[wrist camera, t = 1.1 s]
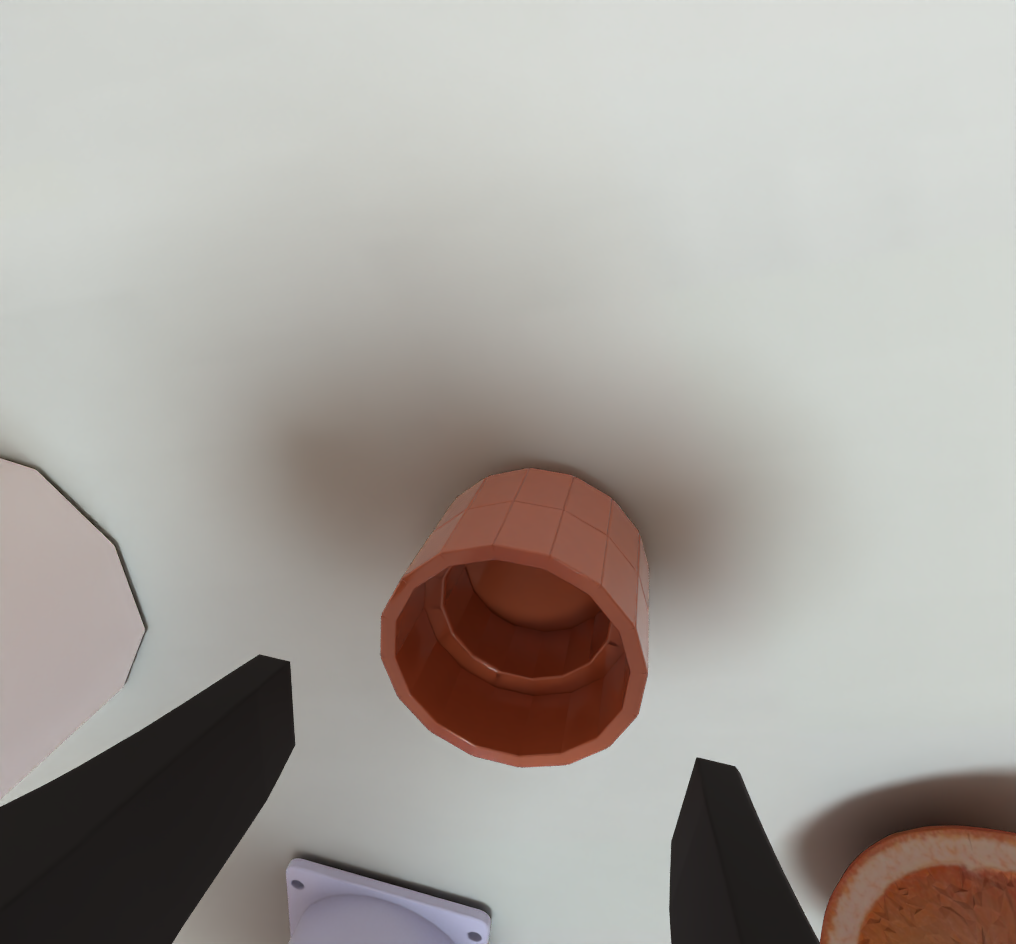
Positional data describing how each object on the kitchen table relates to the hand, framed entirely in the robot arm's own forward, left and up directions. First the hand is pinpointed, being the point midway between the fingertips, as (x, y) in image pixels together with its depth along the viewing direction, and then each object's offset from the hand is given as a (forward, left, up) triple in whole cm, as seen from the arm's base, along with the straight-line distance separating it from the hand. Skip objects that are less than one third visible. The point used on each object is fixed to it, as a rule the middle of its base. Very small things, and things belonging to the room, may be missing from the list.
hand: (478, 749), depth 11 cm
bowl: (0, 0, -7) cm, 7 cm away
